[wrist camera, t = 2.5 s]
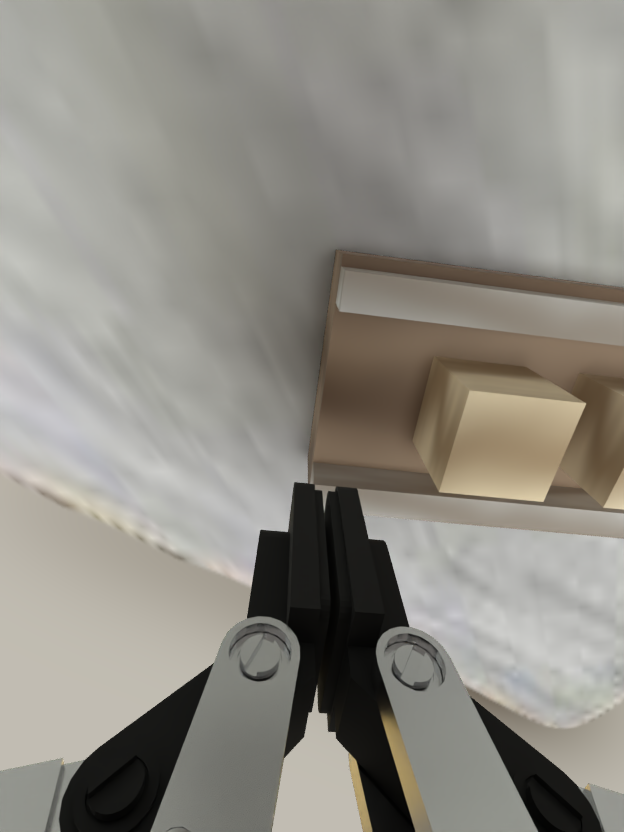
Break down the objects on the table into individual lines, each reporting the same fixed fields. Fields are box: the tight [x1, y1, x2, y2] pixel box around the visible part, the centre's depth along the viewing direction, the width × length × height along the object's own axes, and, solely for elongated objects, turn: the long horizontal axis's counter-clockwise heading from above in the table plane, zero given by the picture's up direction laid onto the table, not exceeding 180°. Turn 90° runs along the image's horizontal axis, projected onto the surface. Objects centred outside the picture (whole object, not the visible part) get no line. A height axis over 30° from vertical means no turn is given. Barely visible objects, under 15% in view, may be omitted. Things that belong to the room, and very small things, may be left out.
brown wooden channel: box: [308, 250, 624, 539], centre depth 21 cm, size 12×22×6 cm, turn 83°
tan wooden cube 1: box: [412, 356, 586, 502], centre depth 18 cm, size 4×4×4 cm
